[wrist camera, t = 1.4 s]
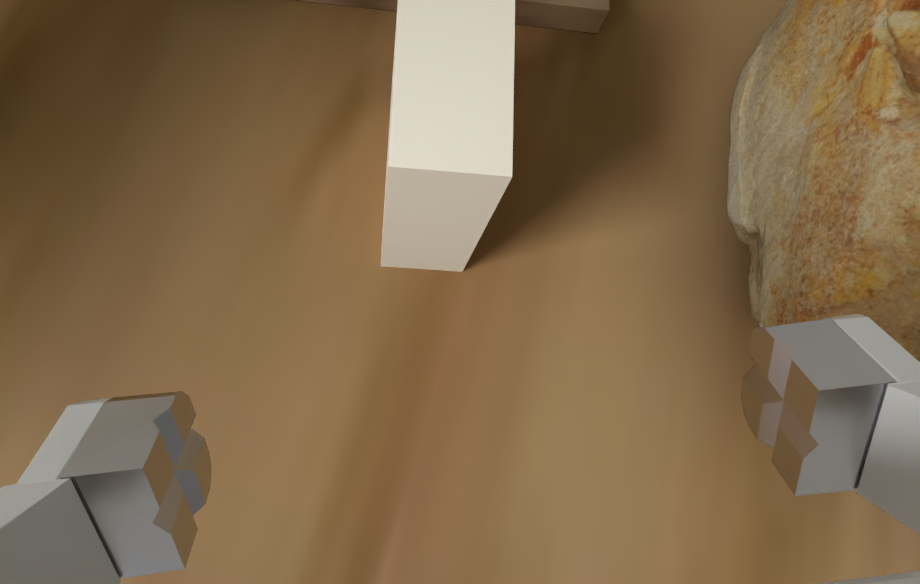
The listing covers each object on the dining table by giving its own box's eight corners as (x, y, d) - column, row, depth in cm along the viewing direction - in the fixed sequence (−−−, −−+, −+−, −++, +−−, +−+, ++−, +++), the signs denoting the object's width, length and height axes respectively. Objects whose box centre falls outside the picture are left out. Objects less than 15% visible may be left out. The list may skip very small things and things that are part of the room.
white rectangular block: (380, 266, 33) (388, 166, 22) (389, 115, 35) (401, -51, 24) (462, 271, 34) (512, 176, 22) (467, 122, 36) (515, -37, 24)
